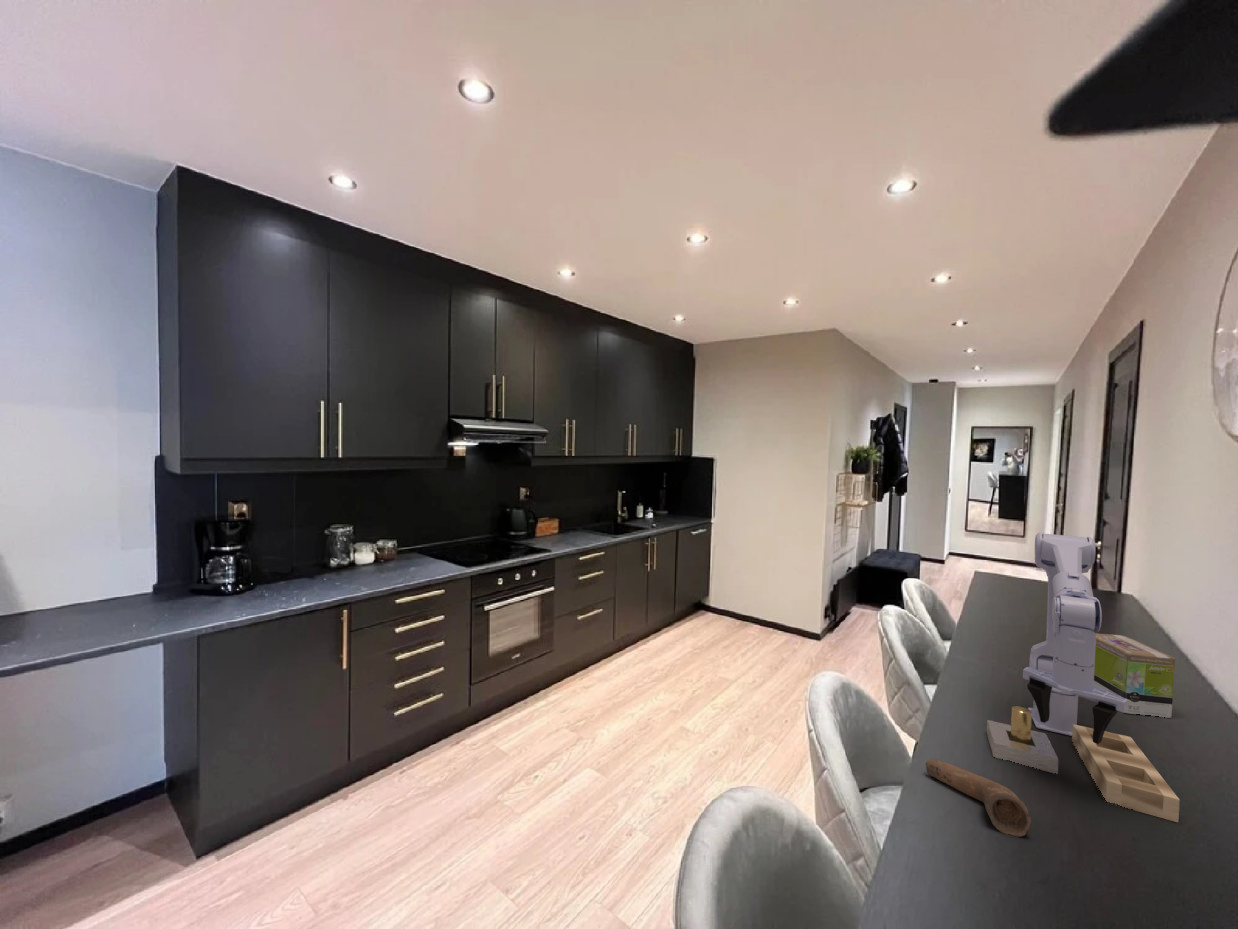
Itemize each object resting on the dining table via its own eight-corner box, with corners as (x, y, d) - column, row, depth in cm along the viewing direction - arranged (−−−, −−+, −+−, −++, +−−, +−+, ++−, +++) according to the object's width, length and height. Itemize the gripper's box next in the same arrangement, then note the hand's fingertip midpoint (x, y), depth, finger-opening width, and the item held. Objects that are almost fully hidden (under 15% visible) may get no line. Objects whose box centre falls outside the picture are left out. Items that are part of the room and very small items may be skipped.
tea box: (1174, 719, 116) (1177, 658, 115) (1123, 714, 118) (1127, 653, 117) (1122, 688, 130) (1125, 634, 130) (1078, 684, 132) (1081, 630, 132)
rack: (1071, 742, 106) (1072, 724, 106) (1129, 756, 101) (1130, 737, 101) (1106, 802, 88) (1107, 781, 88) (1178, 822, 83) (1179, 799, 83)
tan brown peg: (1008, 746, 104) (1010, 704, 104) (1028, 750, 103) (1029, 708, 102) (1011, 754, 102) (1013, 711, 101) (1031, 759, 100) (1033, 716, 100)
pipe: (933, 743, 97) (914, 755, 91) (1042, 788, 85) (1029, 806, 78) (930, 777, 97) (911, 791, 90) (1039, 827, 84) (1026, 848, 78)
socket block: (986, 733, 109) (987, 719, 109) (1045, 747, 104) (1045, 733, 104) (993, 757, 100) (994, 743, 100) (1057, 774, 95) (1058, 759, 95)
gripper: (1017, 650, 96) (1014, 718, 97) (1119, 681, 84) (1115, 759, 84) (1032, 643, 100) (1029, 708, 101) (1133, 672, 87) (1129, 746, 88)
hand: (1069, 730), depth 93 cm, fingers open, 7 cm apart
